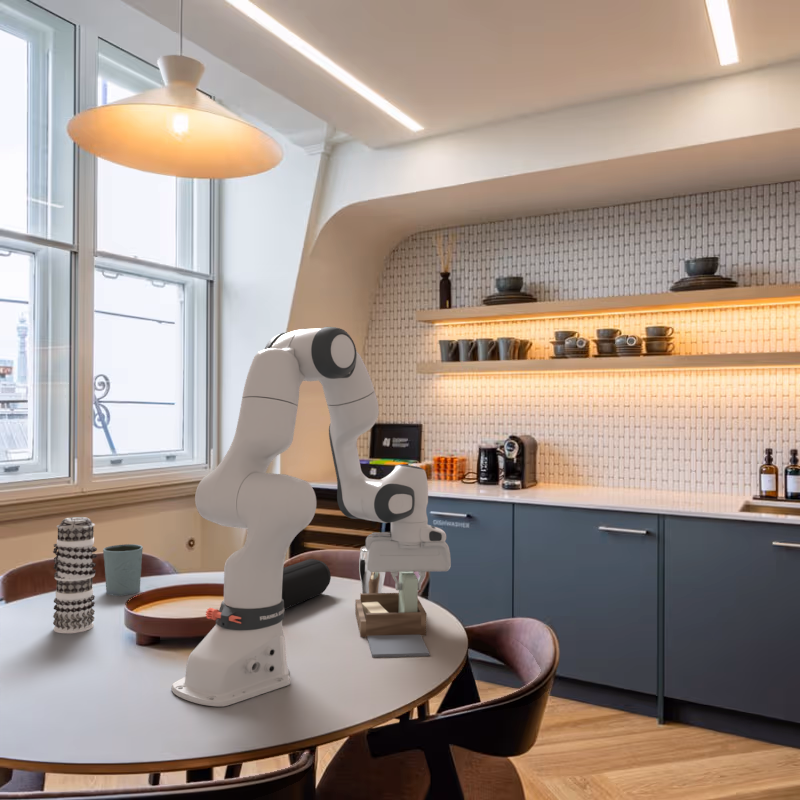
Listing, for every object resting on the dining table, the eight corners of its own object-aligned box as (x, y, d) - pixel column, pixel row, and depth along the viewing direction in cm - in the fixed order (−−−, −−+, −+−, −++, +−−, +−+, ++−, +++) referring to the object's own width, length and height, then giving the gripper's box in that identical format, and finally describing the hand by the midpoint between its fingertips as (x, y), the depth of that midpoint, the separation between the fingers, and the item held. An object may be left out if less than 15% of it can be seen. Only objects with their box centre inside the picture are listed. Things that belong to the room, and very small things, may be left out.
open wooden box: (426, 635, 163) (426, 613, 163) (360, 636, 161) (360, 614, 161) (414, 612, 181) (414, 592, 181) (355, 613, 179) (355, 593, 179)
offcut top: (390, 624, 166) (390, 614, 166) (373, 625, 165) (373, 615, 165) (377, 610, 177) (377, 601, 177) (361, 611, 176) (361, 602, 176)
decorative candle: (42, 632, 161) (44, 520, 161) (70, 620, 170) (72, 514, 170) (77, 635, 159) (79, 523, 159) (103, 623, 168) (106, 516, 168)
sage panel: (416, 630, 167) (417, 579, 167) (404, 631, 166) (405, 579, 166) (410, 616, 178) (411, 568, 178) (398, 617, 177) (399, 568, 177)
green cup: (139, 595, 192) (140, 550, 192) (98, 597, 190) (99, 551, 190) (144, 586, 202) (145, 543, 202) (106, 587, 200) (106, 544, 200)
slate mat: (429, 655, 150) (429, 652, 150) (372, 657, 149) (372, 654, 149) (420, 637, 162) (420, 634, 162) (367, 638, 161) (367, 635, 161)
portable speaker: (303, 591, 200) (303, 555, 200) (333, 595, 196) (334, 559, 196) (244, 614, 177) (245, 574, 178) (277, 620, 173) (278, 579, 173)
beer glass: (384, 610, 183) (385, 551, 183) (357, 609, 183) (358, 550, 183) (385, 602, 190) (386, 545, 190) (359, 601, 190) (360, 545, 190)
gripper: (366, 534, 168) (365, 593, 167) (452, 534, 170) (451, 592, 170) (364, 529, 174) (363, 586, 174) (447, 529, 176) (446, 585, 176)
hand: (408, 589), depth 172 cm, fingers closed on sage panel, 3 cm apart
